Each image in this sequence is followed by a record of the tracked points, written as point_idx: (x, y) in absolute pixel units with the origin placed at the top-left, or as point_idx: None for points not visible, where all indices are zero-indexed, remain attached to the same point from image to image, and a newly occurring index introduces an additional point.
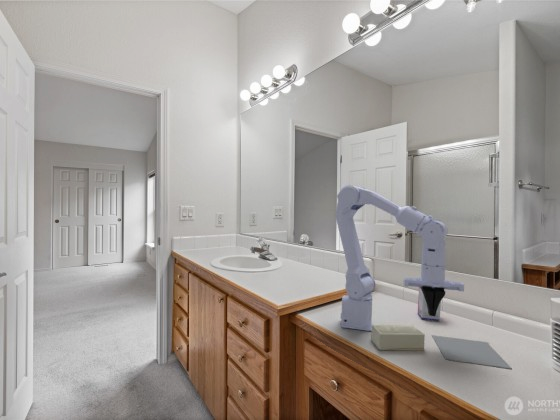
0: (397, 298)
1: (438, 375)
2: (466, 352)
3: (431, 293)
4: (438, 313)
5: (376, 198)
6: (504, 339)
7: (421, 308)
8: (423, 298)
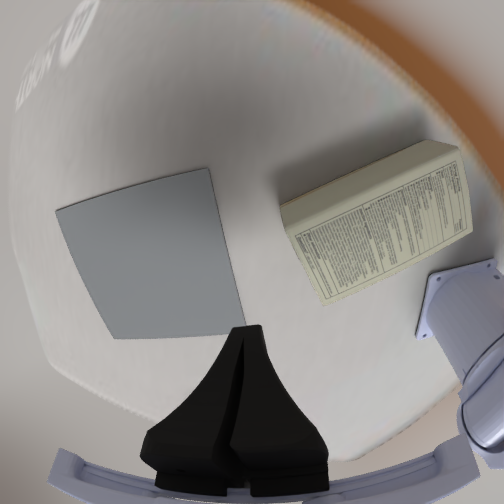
0: None
1: (239, 40)
2: (146, 254)
3: (254, 439)
4: None
5: None
6: (93, 362)
7: None
8: None
